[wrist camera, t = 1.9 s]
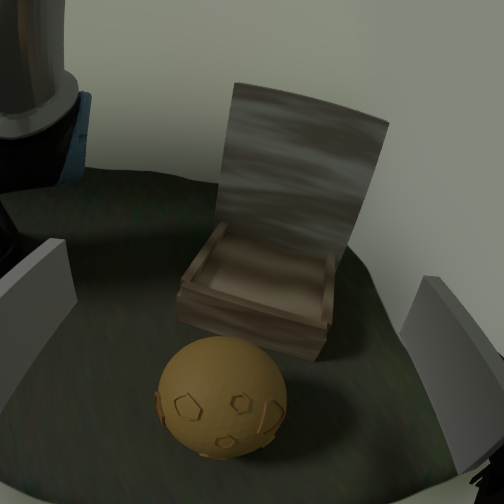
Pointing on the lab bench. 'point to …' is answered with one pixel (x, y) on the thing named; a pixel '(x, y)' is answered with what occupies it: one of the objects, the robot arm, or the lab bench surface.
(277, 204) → the ledge stand
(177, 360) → the stress ball
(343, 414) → the lab bench surface
